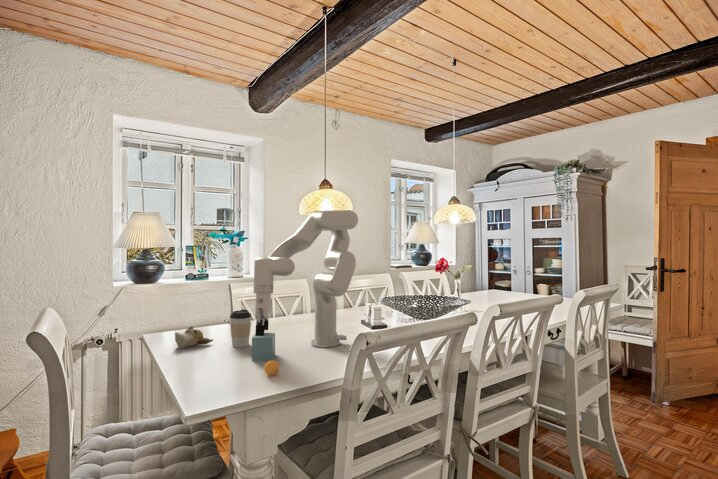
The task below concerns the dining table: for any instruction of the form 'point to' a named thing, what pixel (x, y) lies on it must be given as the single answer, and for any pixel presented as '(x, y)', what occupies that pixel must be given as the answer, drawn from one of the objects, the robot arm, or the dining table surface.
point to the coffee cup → (240, 328)
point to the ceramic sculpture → (190, 338)
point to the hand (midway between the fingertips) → (262, 332)
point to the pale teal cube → (263, 347)
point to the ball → (271, 368)
